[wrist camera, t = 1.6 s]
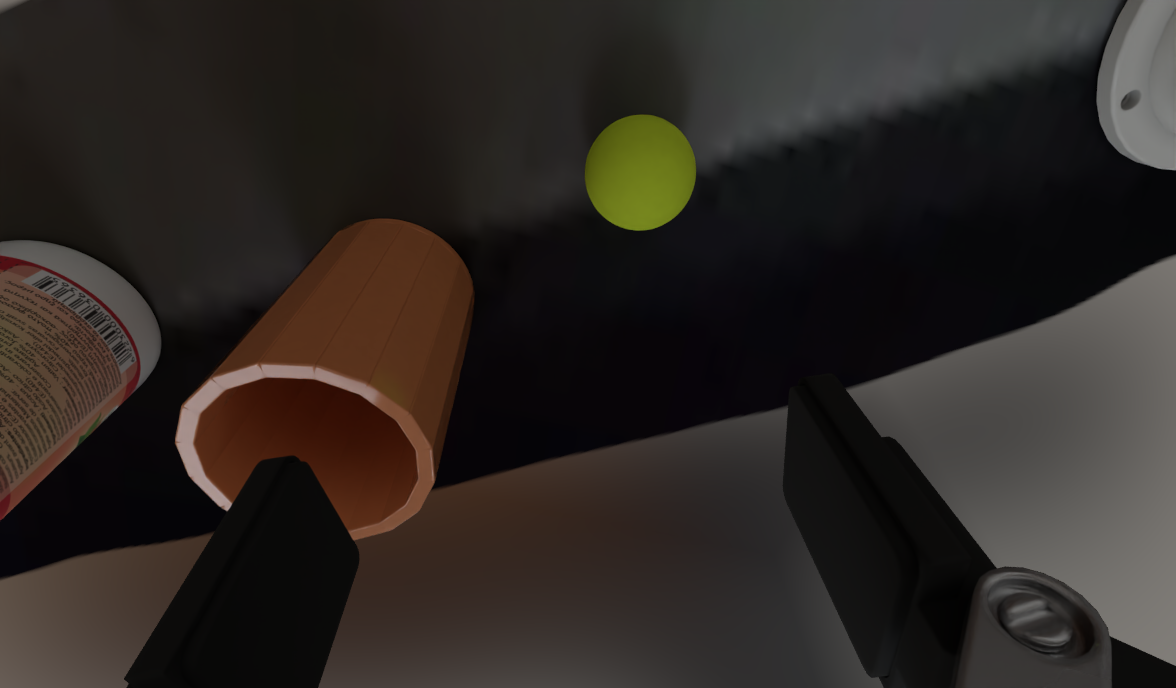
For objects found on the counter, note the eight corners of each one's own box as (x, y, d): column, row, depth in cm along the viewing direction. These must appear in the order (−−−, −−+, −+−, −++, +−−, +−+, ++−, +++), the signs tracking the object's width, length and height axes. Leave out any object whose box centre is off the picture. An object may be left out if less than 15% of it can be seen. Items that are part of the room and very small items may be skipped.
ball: (702, 137, 27) (732, 164, 22) (649, 225, 29) (666, 264, 25) (613, 84, 25) (626, 103, 21) (564, 182, 27) (567, 216, 23)
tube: (498, 260, 29) (469, 417, 19) (443, 375, 33) (392, 562, 22) (338, 189, 27) (195, 323, 16) (299, 323, 31) (162, 505, 20)
